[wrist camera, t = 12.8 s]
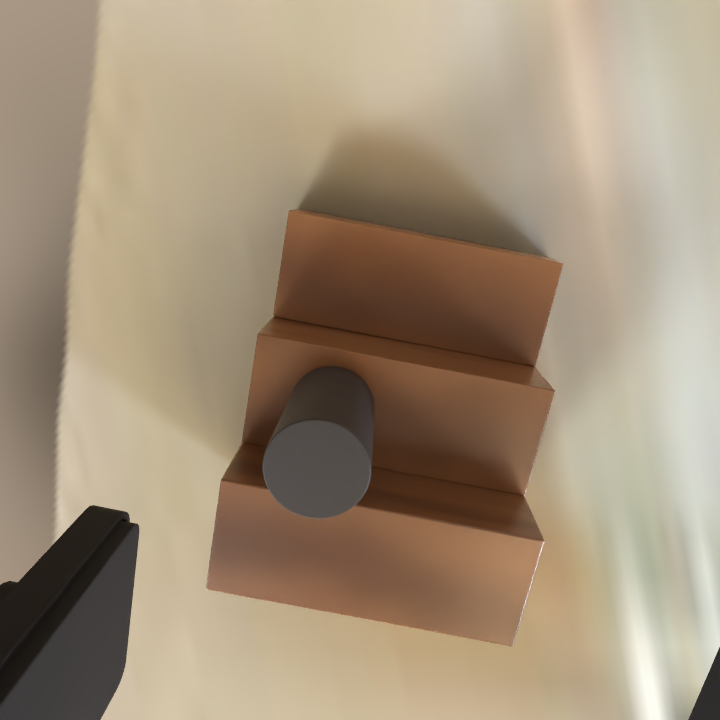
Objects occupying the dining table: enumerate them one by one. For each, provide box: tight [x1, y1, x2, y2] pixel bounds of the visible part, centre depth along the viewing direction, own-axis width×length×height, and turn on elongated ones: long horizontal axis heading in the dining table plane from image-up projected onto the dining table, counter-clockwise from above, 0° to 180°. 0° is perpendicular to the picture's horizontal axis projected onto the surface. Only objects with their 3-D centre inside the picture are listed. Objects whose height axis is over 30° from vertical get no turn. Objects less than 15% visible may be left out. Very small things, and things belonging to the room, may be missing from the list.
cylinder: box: [262, 366, 375, 519], centre depth 26 cm, size 4×4×7 cm
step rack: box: [206, 209, 563, 646], centre depth 31 cm, size 16×14×11 cm
